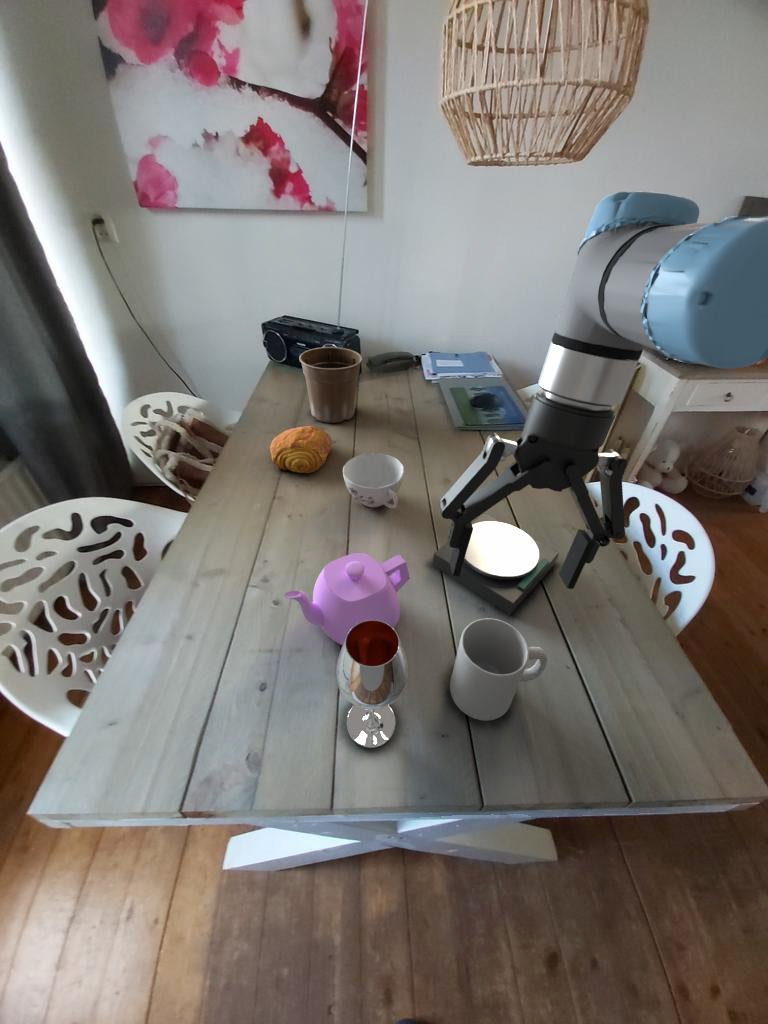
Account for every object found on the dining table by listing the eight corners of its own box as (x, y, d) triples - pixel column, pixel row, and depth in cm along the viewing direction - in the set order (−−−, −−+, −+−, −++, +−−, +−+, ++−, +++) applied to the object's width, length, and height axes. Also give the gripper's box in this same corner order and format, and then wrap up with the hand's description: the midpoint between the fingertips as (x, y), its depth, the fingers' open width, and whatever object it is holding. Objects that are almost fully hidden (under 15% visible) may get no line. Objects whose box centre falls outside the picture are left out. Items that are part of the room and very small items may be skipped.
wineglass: (414, 735, 56) (426, 655, 45) (357, 769, 53) (355, 692, 42) (382, 683, 62) (386, 600, 50) (329, 711, 58) (320, 629, 47)
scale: (554, 564, 81) (560, 550, 78) (509, 615, 71) (514, 601, 69) (481, 524, 89) (484, 510, 87) (432, 565, 80) (434, 550, 77)
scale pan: (552, 550, 78) (553, 546, 78) (511, 593, 70) (513, 590, 70) (485, 514, 85) (486, 511, 85) (442, 550, 77) (442, 547, 77)
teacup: (333, 492, 96) (332, 461, 91) (383, 476, 101) (384, 446, 96) (367, 532, 86) (367, 500, 81) (420, 513, 91) (423, 481, 86)
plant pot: (361, 400, 132) (361, 346, 121) (363, 427, 119) (362, 368, 109) (306, 401, 130) (301, 346, 120) (302, 427, 118) (296, 368, 108)
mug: (457, 724, 57) (469, 679, 51) (443, 665, 64) (453, 619, 57) (545, 716, 59) (569, 671, 52) (523, 659, 65) (542, 613, 58)
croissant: (337, 452, 113) (338, 422, 109) (322, 479, 99) (322, 446, 95) (283, 445, 114) (281, 415, 110) (260, 471, 101) (257, 438, 96)
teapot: (278, 610, 71) (268, 562, 64) (386, 568, 79) (388, 521, 72) (309, 678, 62) (302, 630, 55) (427, 622, 70) (434, 575, 63)
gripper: (677, 404, 45) (597, 567, 56) (440, 369, 43) (404, 544, 54) (727, 429, 39) (626, 608, 49) (451, 389, 37) (408, 584, 47)
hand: (510, 575), depth 52 cm, fingers open, 13 cm apart
